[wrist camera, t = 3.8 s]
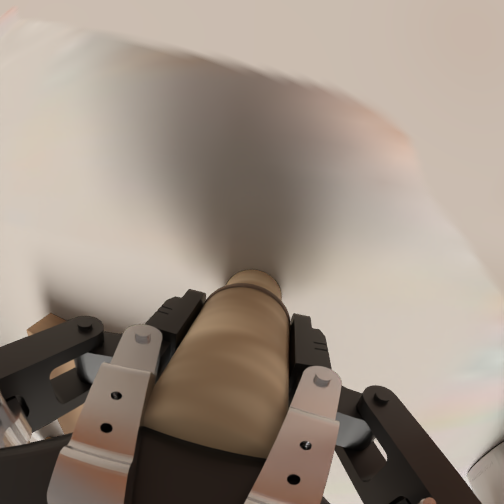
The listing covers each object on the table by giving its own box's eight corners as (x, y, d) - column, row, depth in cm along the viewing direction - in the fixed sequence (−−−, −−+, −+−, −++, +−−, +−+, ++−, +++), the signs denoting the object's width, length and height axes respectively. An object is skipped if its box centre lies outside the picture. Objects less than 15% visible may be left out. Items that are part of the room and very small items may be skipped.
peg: (298, 270, 14) (312, 439, 4) (280, 335, 15) (265, 504, 5) (222, 253, 14) (115, 389, 4) (211, 319, 15) (134, 470, 6)
